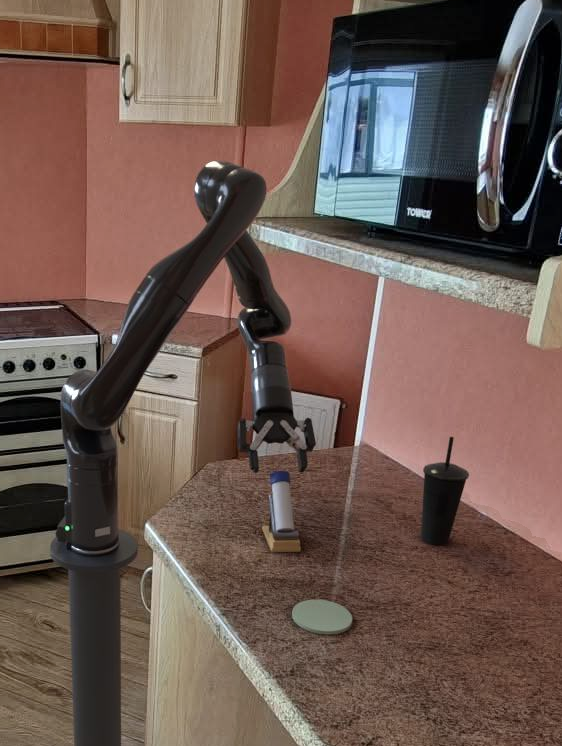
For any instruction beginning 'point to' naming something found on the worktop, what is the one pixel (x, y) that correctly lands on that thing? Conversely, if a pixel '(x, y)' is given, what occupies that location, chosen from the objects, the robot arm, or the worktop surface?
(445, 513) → the drinking cup
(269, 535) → the rack
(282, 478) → the vial
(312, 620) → the mat
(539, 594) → the worktop surface
